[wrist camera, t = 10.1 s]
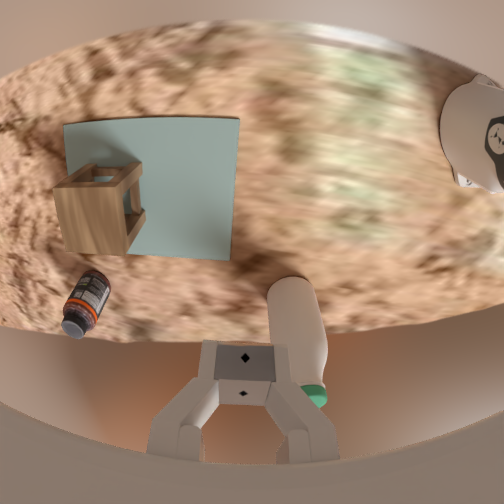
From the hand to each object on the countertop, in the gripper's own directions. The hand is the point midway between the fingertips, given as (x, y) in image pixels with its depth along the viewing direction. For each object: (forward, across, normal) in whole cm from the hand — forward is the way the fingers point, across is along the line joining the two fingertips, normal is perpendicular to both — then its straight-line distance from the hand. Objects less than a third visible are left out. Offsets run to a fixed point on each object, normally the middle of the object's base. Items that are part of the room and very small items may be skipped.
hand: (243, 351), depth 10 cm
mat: (+28, +13, +6) cm, 32 cm away
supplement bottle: (+28, +24, +23) cm, 44 cm away
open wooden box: (+24, +13, +6) cm, 28 cm away
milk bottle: (+29, -8, +22) cm, 37 cm away
